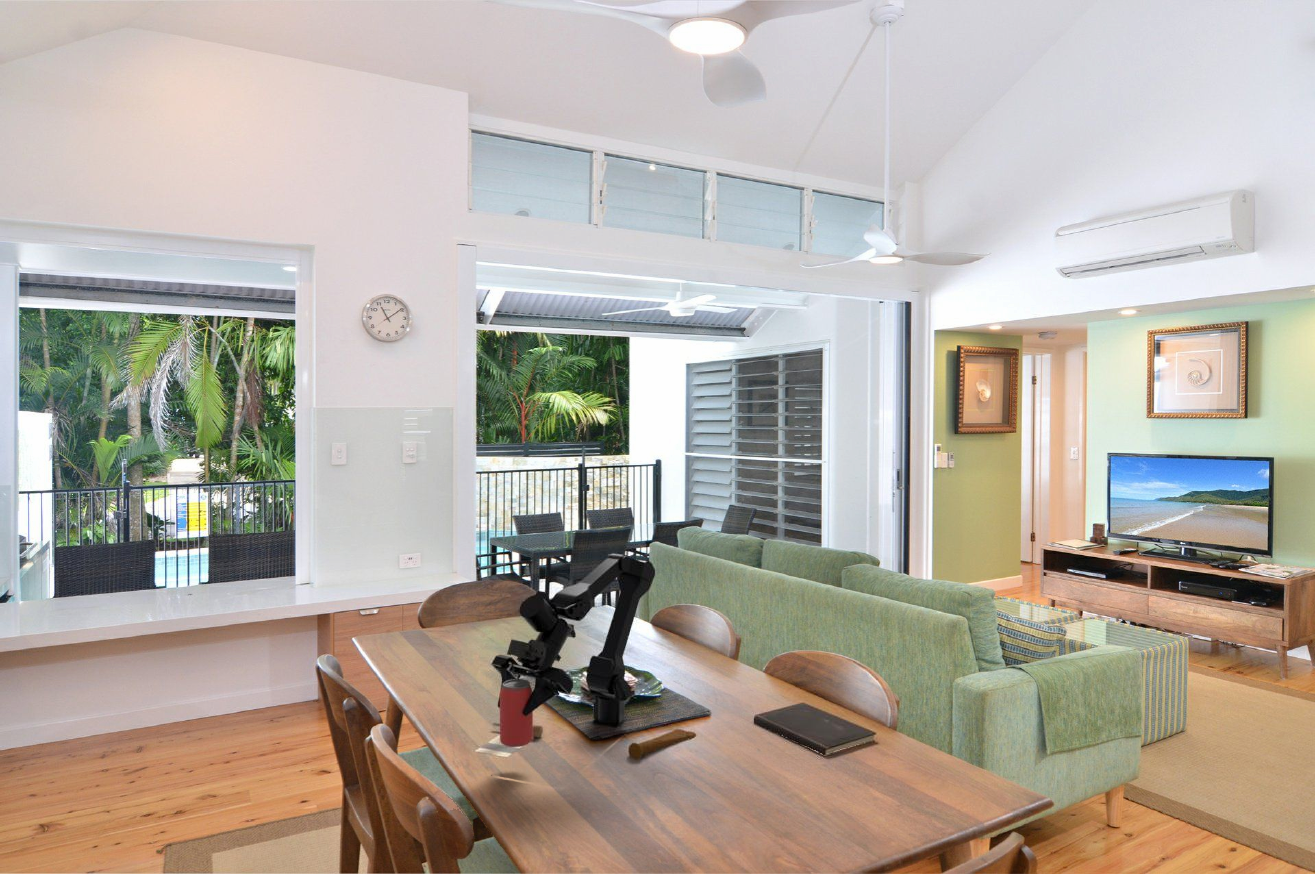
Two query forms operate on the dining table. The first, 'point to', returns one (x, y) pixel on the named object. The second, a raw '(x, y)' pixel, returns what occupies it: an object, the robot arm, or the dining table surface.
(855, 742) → the hardcover book
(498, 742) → the plywood offcut
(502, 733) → the beer can
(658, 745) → the primitive tool
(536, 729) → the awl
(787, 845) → the dining table surface
